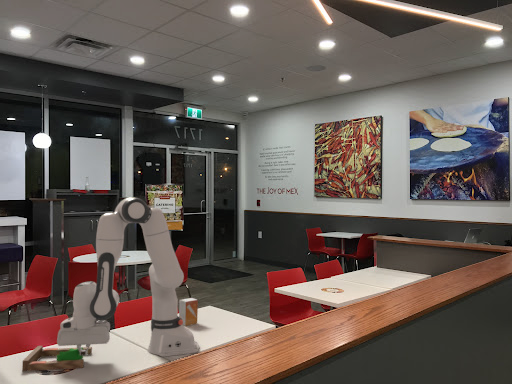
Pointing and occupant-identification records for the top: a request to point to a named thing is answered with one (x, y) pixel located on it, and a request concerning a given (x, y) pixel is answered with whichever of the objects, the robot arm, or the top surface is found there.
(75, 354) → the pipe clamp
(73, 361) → the guide channel
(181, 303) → the small box
